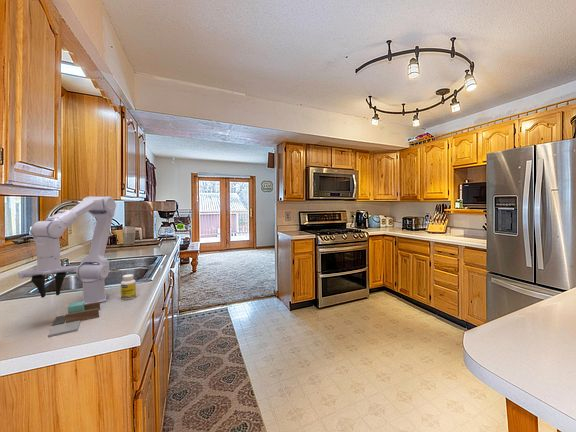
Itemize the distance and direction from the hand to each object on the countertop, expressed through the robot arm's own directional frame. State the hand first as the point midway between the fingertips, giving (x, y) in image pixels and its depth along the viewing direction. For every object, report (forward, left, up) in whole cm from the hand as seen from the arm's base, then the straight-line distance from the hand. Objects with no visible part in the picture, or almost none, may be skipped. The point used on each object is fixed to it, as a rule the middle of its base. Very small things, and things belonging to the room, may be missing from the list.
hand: (50, 295), depth 85 cm
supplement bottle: (-11, +23, -10) cm, 27 cm away
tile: (+9, +5, -9) cm, 13 cm away
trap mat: (0, +2, -9) cm, 10 cm away
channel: (0, +9, -9) cm, 13 cm away
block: (0, +7, -10) cm, 12 cm away
